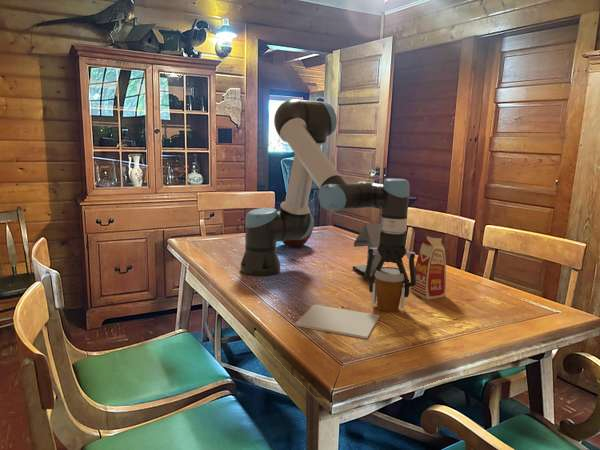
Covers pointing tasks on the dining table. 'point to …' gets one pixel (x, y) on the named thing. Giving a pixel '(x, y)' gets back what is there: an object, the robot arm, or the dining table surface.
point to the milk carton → (430, 270)
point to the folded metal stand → (369, 244)
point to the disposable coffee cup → (389, 288)
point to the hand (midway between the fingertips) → (388, 304)
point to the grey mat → (338, 321)
